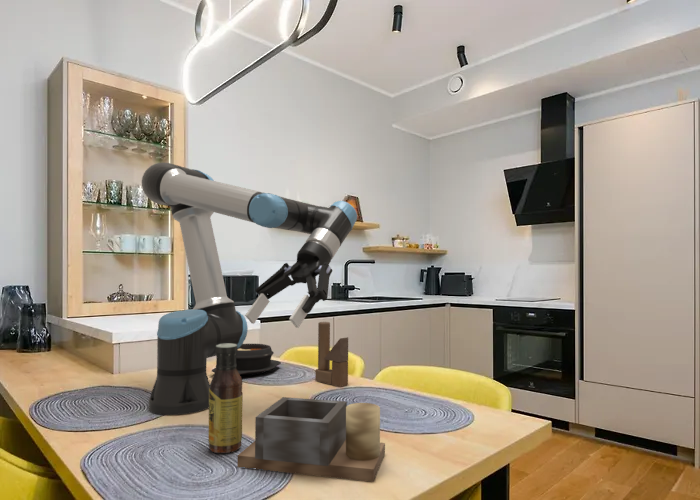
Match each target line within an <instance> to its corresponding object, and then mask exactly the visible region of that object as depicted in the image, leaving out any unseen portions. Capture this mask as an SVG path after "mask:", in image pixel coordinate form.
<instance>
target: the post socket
mask: <svg viewBox="0 0 700 500" xmlns="http://www.w3.org/2000/svg"><path fill="white" fill-rule="evenodd" d="M254 423H255V425H254V427H255V428H254V429H255V435H254V436H255V437H254V441H253V442H252V443H250V444H249V445H248V446H247V447H245V448H244V449H243V450H242V451H241V452H240V453H239V454H237V455H236V456H237V458H236V460H237V462H236V465H237V467H236V468H240V467H245V468H244V469H250V468H256V469H255V470H259V469H263V470H262V471H268V470H270V471H269V472H277V471H278V473H286V474H287V473H288V474H295V475H305V476H306V475H308V476H313V477H314V476H316V477H324V478H325V477H326V478H335V479H343V480H350V481H351V480H353V481H362V482H363V481H364V482H369V483H370V482H371V483H372V482H375V480H376V477H377V474H378V471H379V470H380V467H381V464H382V462H383V459H384V457H385V455H386V442H381V407H380V405H378V404H374V403H370V402H369V403H368V402H356V403H350V404H348V402H347V401H344V400H343V401H342V400H327V399H315V398H313V399H312V398H304V397H303V398H302V397H300V398H299V397H286V396H283V397H281V398H280V399H278V400H277V401H275V402H274V403H273V404H271V405H270V406H269V407H267V408H265V409H264V410H263V411H262V412H260V413H259V414H258V415H256V416H255V422H254Z"/></svg>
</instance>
